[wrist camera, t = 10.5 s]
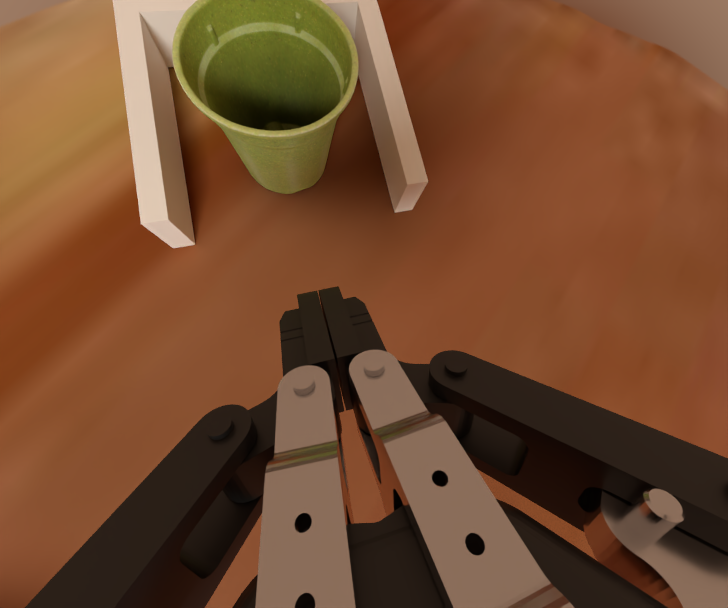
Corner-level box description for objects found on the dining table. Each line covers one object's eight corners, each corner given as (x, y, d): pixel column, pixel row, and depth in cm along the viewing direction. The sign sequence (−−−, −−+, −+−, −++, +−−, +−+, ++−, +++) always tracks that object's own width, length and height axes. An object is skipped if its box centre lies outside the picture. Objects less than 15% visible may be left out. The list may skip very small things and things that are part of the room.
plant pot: (362, 132, 26) (380, 19, 17) (325, 232, 24) (325, 160, 15) (252, 91, 25) (216, -46, 17) (205, 190, 23) (137, 92, 15)
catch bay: (173, 248, 22) (141, 223, 18) (145, 52, 25) (112, -6, 21) (412, 209, 25) (428, 181, 21) (365, 38, 28) (372, -15, 24)
